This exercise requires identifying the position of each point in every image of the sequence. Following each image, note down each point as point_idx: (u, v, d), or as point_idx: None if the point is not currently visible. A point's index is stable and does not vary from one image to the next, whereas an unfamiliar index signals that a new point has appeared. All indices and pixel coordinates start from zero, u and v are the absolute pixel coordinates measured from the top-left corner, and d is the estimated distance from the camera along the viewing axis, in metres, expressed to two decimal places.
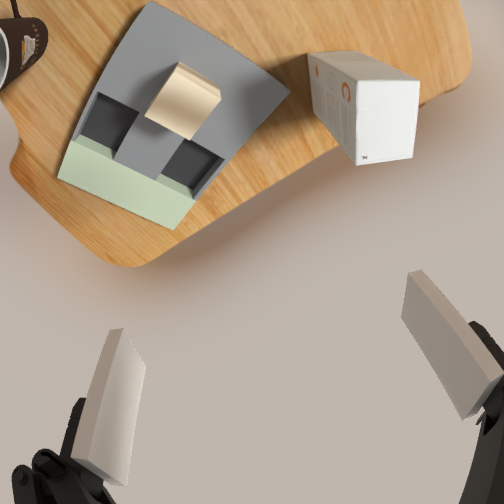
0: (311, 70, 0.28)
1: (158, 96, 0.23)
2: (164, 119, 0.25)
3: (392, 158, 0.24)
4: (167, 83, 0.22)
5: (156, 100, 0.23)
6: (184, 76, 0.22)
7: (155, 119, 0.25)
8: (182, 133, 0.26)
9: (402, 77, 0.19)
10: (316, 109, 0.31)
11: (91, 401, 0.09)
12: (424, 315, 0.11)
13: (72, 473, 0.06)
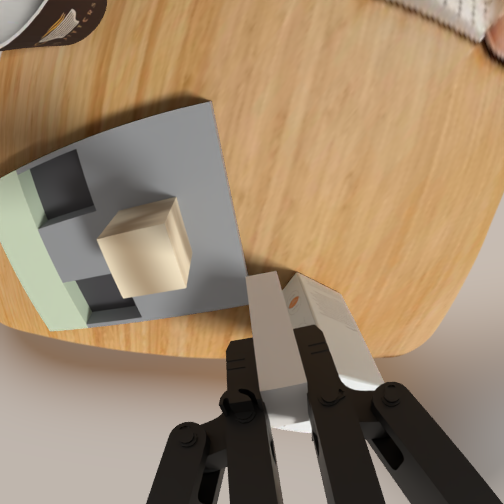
0: (287, 292, 0.29)
1: (126, 233, 0.18)
2: (113, 260, 0.19)
3: (306, 431, 0.23)
4: (146, 229, 0.18)
5: (121, 235, 0.18)
6: (169, 236, 0.19)
7: (104, 252, 0.19)
8: (121, 287, 0.20)
9: (373, 377, 0.21)
10: None
11: (260, 335, 0.11)
12: None
13: (264, 420, 0.08)
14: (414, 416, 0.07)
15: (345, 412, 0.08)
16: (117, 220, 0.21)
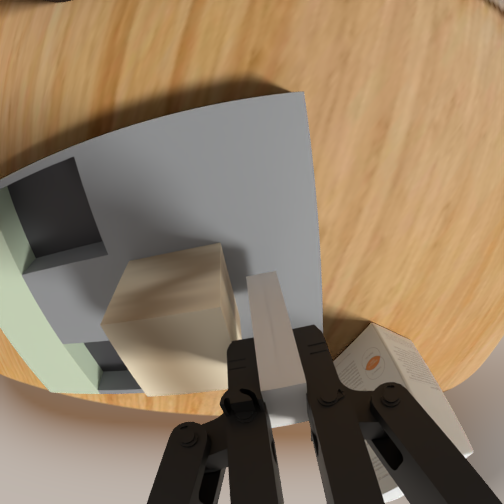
0: (361, 348, 0.22)
1: (151, 320, 0.11)
2: (131, 354, 0.12)
3: None
4: (188, 315, 0.11)
5: (142, 322, 0.11)
6: (226, 322, 0.11)
7: (115, 343, 0.11)
8: (144, 385, 0.13)
9: (464, 445, 0.13)
10: None
11: (261, 335, 0.11)
12: None
13: (265, 420, 0.08)
14: (413, 416, 0.07)
15: (344, 412, 0.08)
16: (130, 283, 0.13)
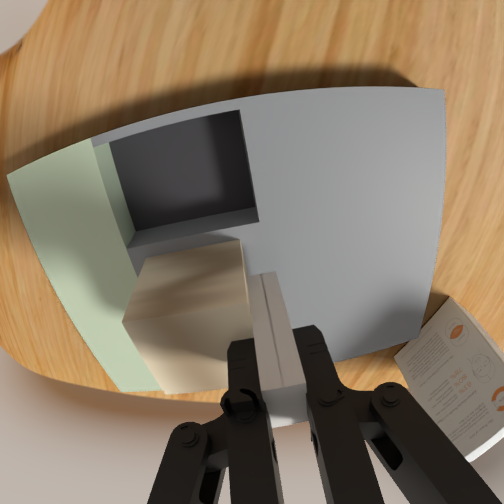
0: (443, 320, 0.22)
1: (176, 316, 0.11)
2: (152, 351, 0.12)
3: None
4: (214, 311, 0.11)
5: (166, 319, 0.11)
6: (251, 318, 0.12)
7: (136, 341, 0.11)
8: (163, 383, 0.13)
9: None
10: (408, 361, 0.23)
11: (261, 335, 0.11)
12: None
13: (265, 420, 0.08)
14: (413, 416, 0.07)
15: (344, 412, 0.08)
16: (149, 280, 0.13)
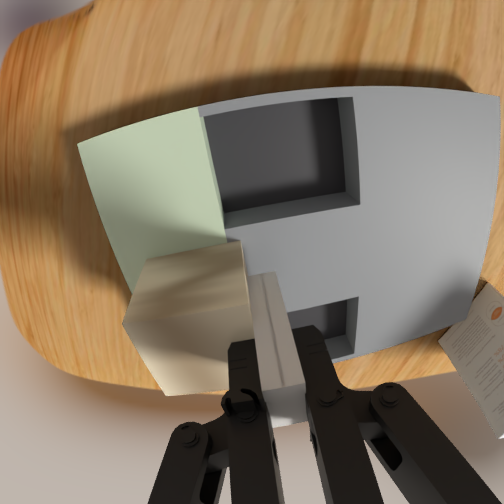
0: (483, 303, 0.22)
1: (176, 318, 0.11)
2: (152, 353, 0.12)
3: None
4: (214, 312, 0.11)
5: (166, 321, 0.11)
6: None
7: (137, 342, 0.11)
8: (163, 384, 0.13)
9: None
10: (453, 344, 0.23)
11: (262, 335, 0.11)
12: None
13: (266, 420, 0.08)
14: (412, 417, 0.07)
15: (343, 412, 0.08)
16: (150, 281, 0.13)
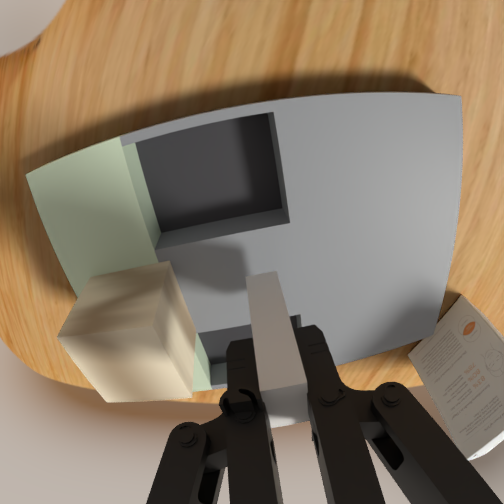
0: (455, 317, 0.22)
1: (97, 334, 0.11)
2: (85, 363, 0.12)
3: (480, 455, 0.15)
4: (126, 332, 0.11)
5: (89, 337, 0.11)
6: (163, 339, 0.12)
7: (71, 353, 0.12)
8: (101, 391, 0.13)
9: None
10: (422, 359, 0.23)
11: (260, 335, 0.11)
12: None
13: (264, 420, 0.08)
14: (414, 416, 0.07)
15: (345, 412, 0.08)
16: (86, 299, 0.13)
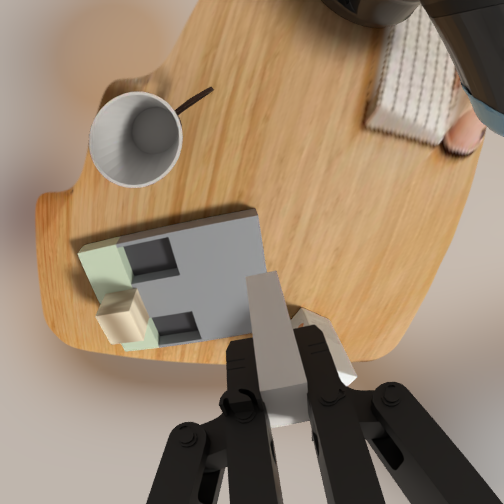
0: (296, 320, 0.46)
1: (110, 314, 0.34)
2: (105, 326, 0.35)
3: None
4: (120, 313, 0.34)
5: (108, 315, 0.34)
6: (132, 316, 0.35)
7: (100, 322, 0.34)
8: (109, 339, 0.36)
9: (349, 370, 0.37)
10: None
11: (260, 335, 0.11)
12: None
13: (264, 420, 0.08)
14: (414, 416, 0.07)
15: (345, 412, 0.08)
16: (105, 302, 0.36)
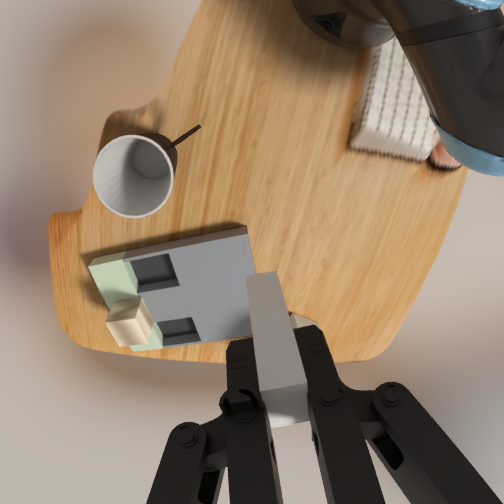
0: None
1: (118, 321, 0.39)
2: (114, 331, 0.40)
3: None
4: (127, 320, 0.39)
5: (116, 322, 0.39)
6: (138, 322, 0.40)
7: (109, 327, 0.39)
8: (118, 342, 0.41)
9: None
10: None
11: (260, 335, 0.11)
12: None
13: (264, 420, 0.08)
14: (414, 416, 0.07)
15: (345, 412, 0.08)
16: (114, 310, 0.41)
